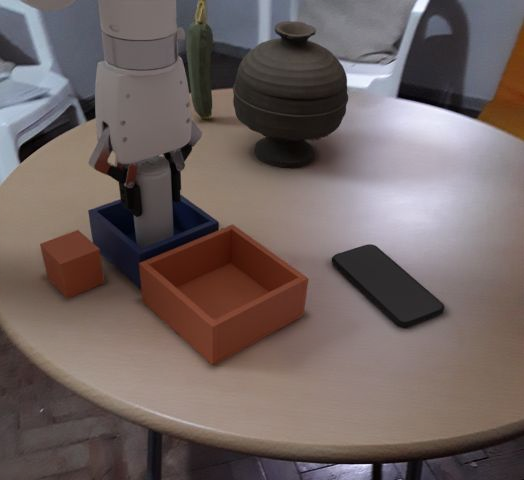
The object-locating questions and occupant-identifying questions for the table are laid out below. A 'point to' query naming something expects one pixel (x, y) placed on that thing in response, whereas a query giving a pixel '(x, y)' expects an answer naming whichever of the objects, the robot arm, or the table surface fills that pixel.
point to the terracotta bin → (223, 292)
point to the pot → (290, 95)
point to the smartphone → (388, 285)
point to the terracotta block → (72, 263)
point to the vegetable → (200, 61)
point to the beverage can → (154, 202)
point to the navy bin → (124, 237)
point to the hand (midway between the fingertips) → (152, 203)
